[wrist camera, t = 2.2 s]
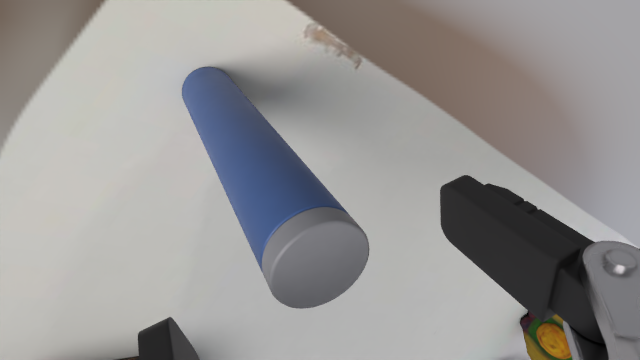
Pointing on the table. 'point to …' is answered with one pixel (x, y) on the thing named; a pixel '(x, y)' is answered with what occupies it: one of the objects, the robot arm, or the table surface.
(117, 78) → the table surface
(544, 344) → the figurine
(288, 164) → the handle
